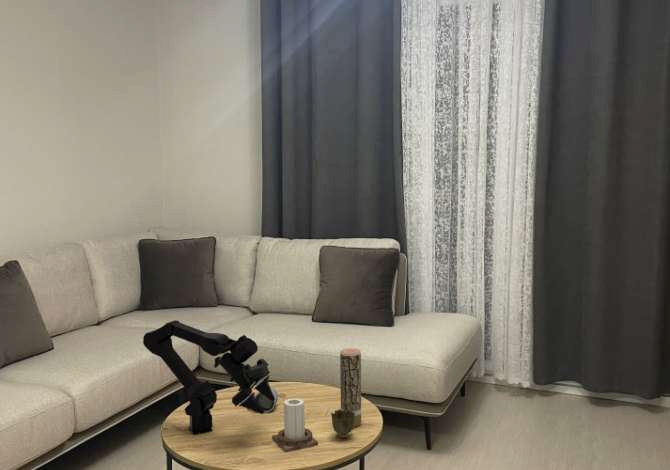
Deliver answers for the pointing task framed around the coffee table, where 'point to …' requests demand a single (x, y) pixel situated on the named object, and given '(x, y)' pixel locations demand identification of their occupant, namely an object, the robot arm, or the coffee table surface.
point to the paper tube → (351, 382)
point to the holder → (294, 441)
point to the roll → (294, 419)
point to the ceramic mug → (267, 400)
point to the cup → (343, 422)
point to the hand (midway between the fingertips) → (268, 406)
